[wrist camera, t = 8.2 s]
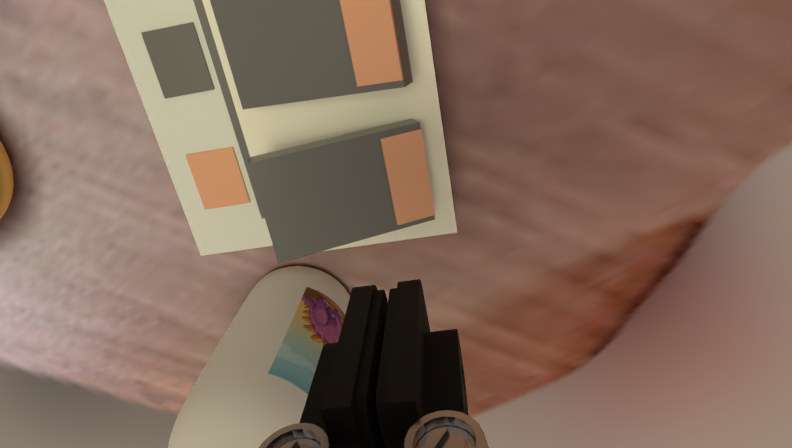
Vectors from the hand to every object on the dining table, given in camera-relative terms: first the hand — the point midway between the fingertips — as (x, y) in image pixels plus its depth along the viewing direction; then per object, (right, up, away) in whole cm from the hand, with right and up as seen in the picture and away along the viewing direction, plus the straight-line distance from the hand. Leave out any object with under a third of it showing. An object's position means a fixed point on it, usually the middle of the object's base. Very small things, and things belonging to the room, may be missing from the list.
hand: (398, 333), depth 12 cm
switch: (-2, +4, +11) cm, 12 cm away
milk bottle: (-7, -3, +23) cm, 24 cm away
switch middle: (-4, +11, +9) cm, 14 cm away
